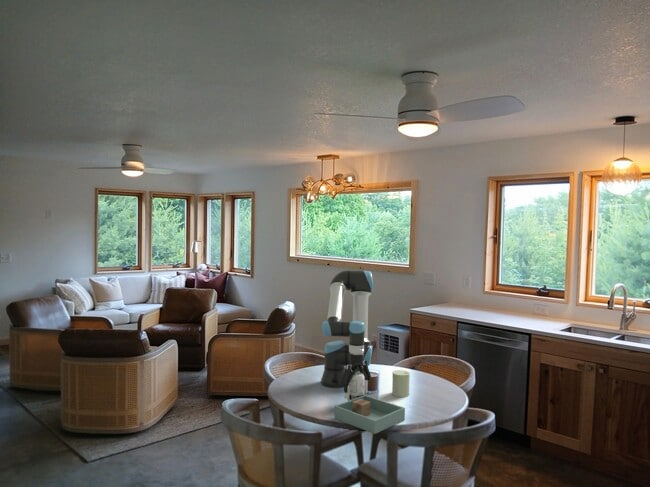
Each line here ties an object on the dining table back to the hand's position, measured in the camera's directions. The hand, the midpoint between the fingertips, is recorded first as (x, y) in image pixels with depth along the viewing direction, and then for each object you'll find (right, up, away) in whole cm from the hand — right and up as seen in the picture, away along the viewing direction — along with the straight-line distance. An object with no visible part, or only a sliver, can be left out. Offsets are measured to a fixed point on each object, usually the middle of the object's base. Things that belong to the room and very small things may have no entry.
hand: (355, 395), depth 237 cm
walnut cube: (+1, -4, -15) cm, 16 cm away
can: (+25, -4, +15) cm, 29 cm away
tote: (+5, -5, -19) cm, 20 cm away
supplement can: (0, -4, 0) cm, 4 cm away
